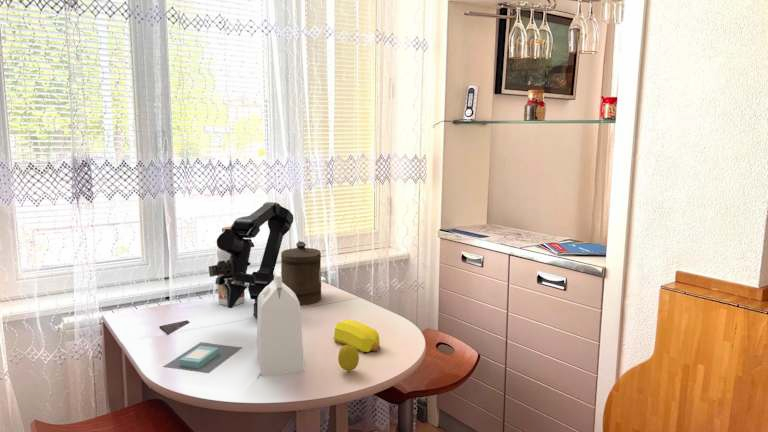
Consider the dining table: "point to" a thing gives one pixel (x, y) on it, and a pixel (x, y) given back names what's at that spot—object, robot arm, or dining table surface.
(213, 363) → the mat
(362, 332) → the yellow kitchen sponge
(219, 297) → the fruit juice
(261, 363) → the milk
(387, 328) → the dining table surface
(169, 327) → the chocolate bar
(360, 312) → the dining table surface
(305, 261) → the wooden container
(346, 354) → the lemon
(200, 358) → the card box
